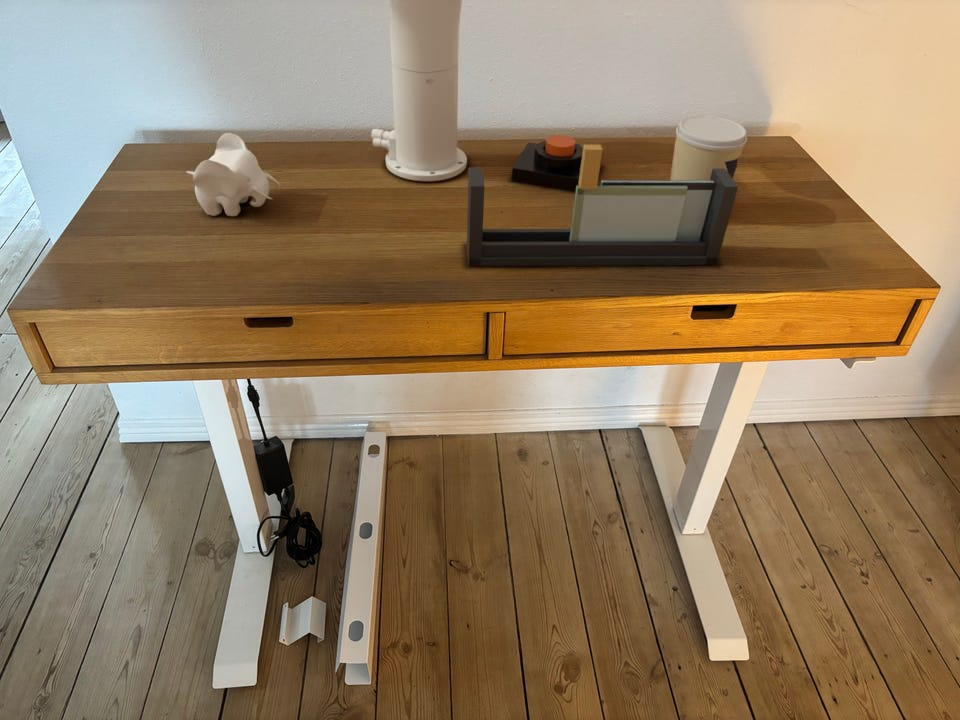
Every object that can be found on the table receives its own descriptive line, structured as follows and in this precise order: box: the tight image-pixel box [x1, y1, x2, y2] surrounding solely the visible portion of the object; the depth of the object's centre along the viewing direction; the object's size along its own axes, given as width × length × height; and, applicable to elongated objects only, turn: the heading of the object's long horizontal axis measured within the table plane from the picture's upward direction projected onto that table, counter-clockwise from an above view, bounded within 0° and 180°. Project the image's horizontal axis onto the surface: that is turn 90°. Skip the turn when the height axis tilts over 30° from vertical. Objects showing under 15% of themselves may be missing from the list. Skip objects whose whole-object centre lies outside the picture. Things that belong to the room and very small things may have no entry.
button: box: [545, 134, 576, 157], centre depth 110 cm, size 4×4×2 cm
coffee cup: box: [669, 114, 748, 181], centre depth 102 cm, size 9×9×12 cm
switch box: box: [511, 139, 604, 193], centre depth 112 cm, size 12×10×4 cm
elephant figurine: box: [186, 132, 282, 217], centre depth 99 cm, size 10×12×9 cm
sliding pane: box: [569, 144, 688, 242], centre depth 90 cm, size 14×1×14 cm, turn 94°
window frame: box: [466, 167, 739, 267], centre depth 92 cm, size 32×5×11 cm, turn 94°
